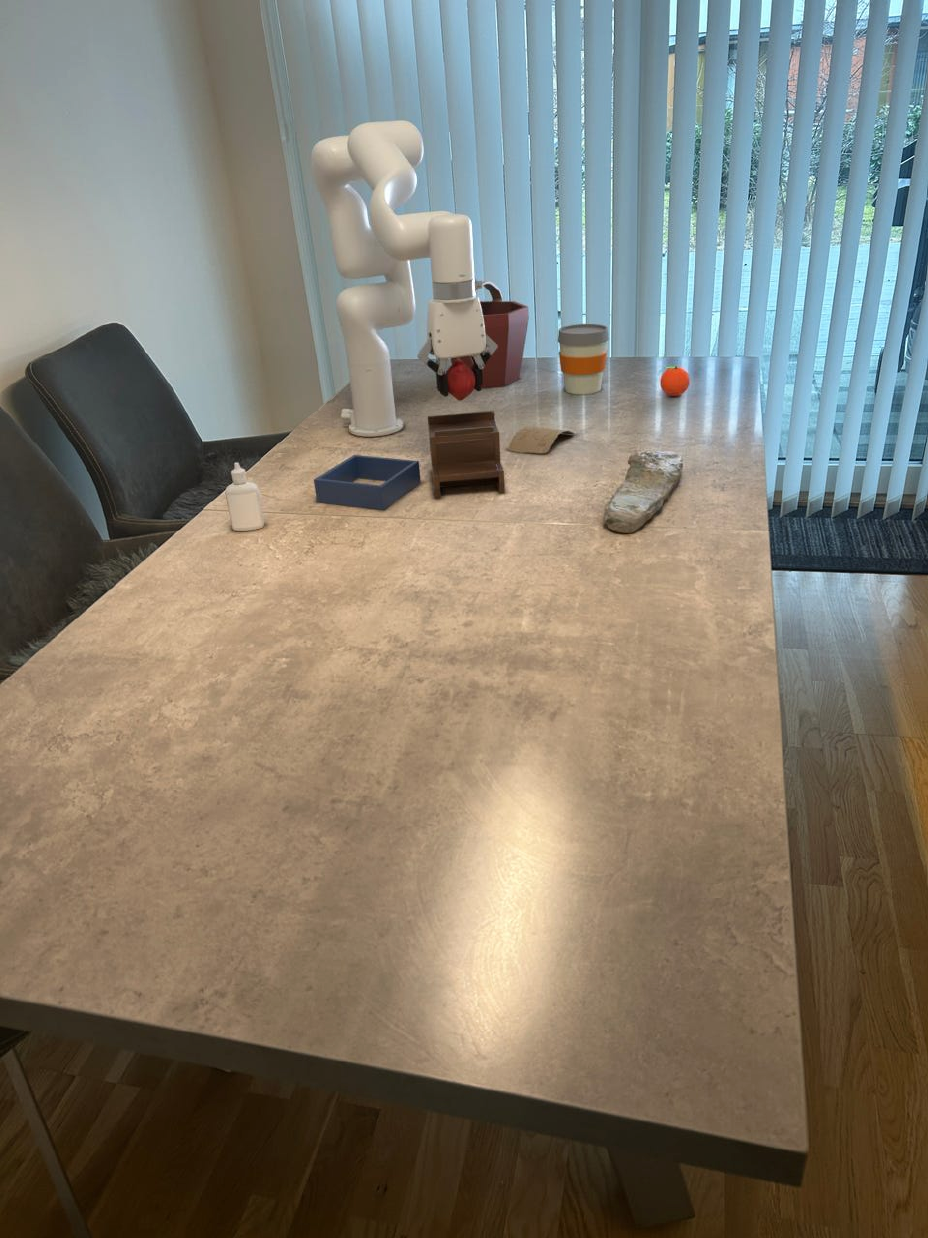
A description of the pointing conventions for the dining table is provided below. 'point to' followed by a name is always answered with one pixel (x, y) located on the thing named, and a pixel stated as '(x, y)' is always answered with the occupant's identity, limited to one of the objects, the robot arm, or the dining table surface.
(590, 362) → the reusable coffee cup
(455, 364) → the onion
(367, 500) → the crate
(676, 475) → the elongated rock
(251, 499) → the eye dropper bottle
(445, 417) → the step shelf
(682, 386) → the clementine
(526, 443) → the clay tablet
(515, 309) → the bucket
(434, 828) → the dining table surface
